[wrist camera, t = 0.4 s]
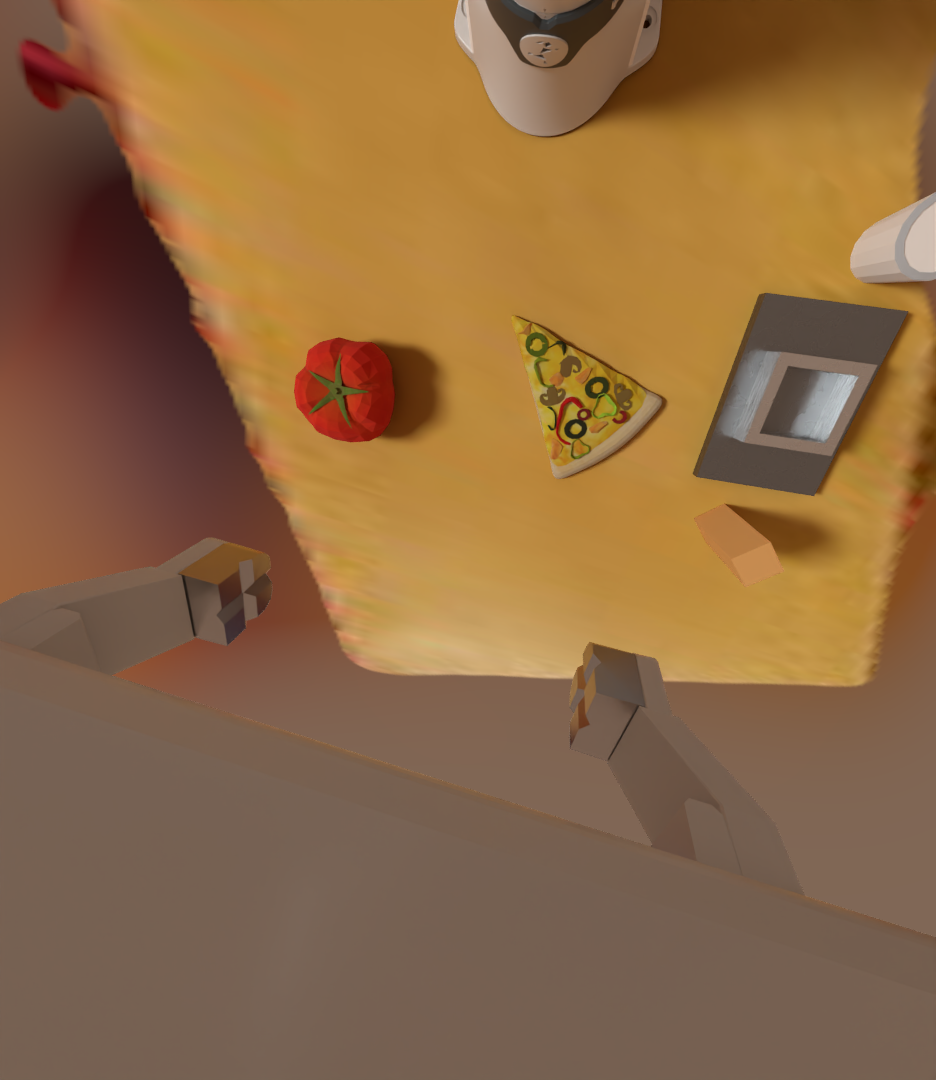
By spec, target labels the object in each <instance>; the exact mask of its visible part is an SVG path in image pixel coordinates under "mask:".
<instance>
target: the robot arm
mask: <svg viewBox="0 0 936 1080" xmlns="http://www.w3.org/2000/svg"><path fill="white" fill-rule="evenodd" d="M661 10H662V0H459V2H458V6H457V11H456V15H455V22H454V27H455V35H456V39H457V41H458V43H459V45H460V46H461V48H462V49H463V50H464V52H465V53H466V54H467V55H468V56H469V57H470V58H471V59H472V60H473V62H474V63H475V64H476V66H477V68H478V70H479V72H480V75H481V78H482V81H483V84H484V86H485V89H486V91H487V94H488V96H489V98H490V100H491V102H492V103H493V105H494V107H495V108H496V110H497V111H498V112H499V113H500V115H501V116H502V117H503V118H504V119H505V120H506V121H507V122H508V123H510V124H511V125H512V126H514V127H515V128H517V129H518V130H520V131H523V132H525V133H528V134H531V135H536V136H554V135H559V134H562V133H566V132H568V131H570V130H573V129H574V128H576V127H578V126H580V125H581V124H583V123H584V122H586V121H587V120H588V119H589V118H591V117H592V116H593V115H594V114H595V113H596V112H597V111H598V110H599V109H600V108H601V107H602V106H603V105H604V103H605V102H606V101H607V99H608V98H609V97H610V95H611V94H612V93H613V91H614V90H615V89H616V87H617V86H618V85H619V83H620V82H621V81H622V80H623V79H624V78H625V77H627V76H628V75H630V74H631V73H633V72H634V71H636V70H637V69H639V68H640V67H642V66H643V65H644V64H645V63H647V62H648V61H649V60H650V59H651V57H652V56H653V55H654V53H655V51H656V48H657V44H658V40H659V33H660V22H661ZM645 20H647V21H649V23H650V26H649V27H648V28H643V25H644V22H645ZM270 568H271V566H270V557H269V556H268V555H267V554H266V553H263V552H260V551H257V550H253V549H250V548H247V547H243V546H240V545H236V544H233V543H228V542H226V541H222V540H219V539H215V538H205V539H204V540H202V541H200V542H199V543H197V544H196V545H194V546H192V547H191V548H189V549H187V550H185V551H184V552H182V553H180V554H179V555H177V556H175V557H174V558H172V559H170V560H169V561H167V562H165V563H164V564H162V565H160V566H159V567H157V568H154V567H145V568H141V569H136V570H131V571H126V572H122V573H117V574H112V575H107V576H103V577H98V578H93V579H89V580H84V581H79V582H74V583H69V584H64V585H59V586H55V587H50V588H45V589H40V590H36V591H31V592H26V593H21V594H19V595H18V596H15V597H13V598H11V599H9V600H8V601H6V602H3V603H2V604H0V1080H936V937H933V936H930V935H927V934H924V933H921V932H917V931H915V930H911V929H908V928H905V927H902V926H899V925H896V924H892V923H889V922H886V921H883V920H880V919H876V918H873V917H870V916H867V915H864V914H861V913H858V912H855V911H851V910H848V909H845V908H842V907H839V906H836V905H833V904H829V903H826V902H823V901H820V900H817V899H814V898H810V897H807V896H805V894H804V892H803V889H802V887H801V885H800V882H799V880H798V878H797V875H796V872H795V870H794V868H793V865H792V862H791V860H790V858H789V855H788V853H787V850H786V848H785V846H784V843H783V840H782V838H781V836H780V833H779V831H778V828H777V826H776V824H775V822H774V821H773V820H772V819H771V818H770V816H769V815H768V814H767V813H766V812H765V811H764V810H763V809H762V808H761V807H760V805H758V803H757V802H756V801H755V800H754V799H753V798H752V797H751V796H750V794H749V793H748V792H747V791H746V790H745V789H744V788H743V787H742V786H741V785H740V784H739V782H738V781H737V780H736V779H735V778H734V777H733V776H732V775H731V774H730V773H729V772H728V770H727V769H726V768H725V767H724V766H723V765H722V764H721V763H720V762H719V761H718V759H717V758H716V757H715V756H714V755H713V754H712V753H711V752H710V751H709V750H708V748H707V747H706V746H705V745H704V744H703V743H702V742H701V741H700V740H699V739H698V738H697V737H696V735H695V734H694V733H693V732H692V731H691V730H690V729H689V728H688V727H687V725H686V724H685V723H684V722H683V721H682V720H681V719H680V718H679V717H676V716H673V715H672V712H671V709H670V705H669V701H668V697H667V694H666V690H665V686H664V682H663V679H662V675H661V671H660V668H659V664H658V661H657V660H656V659H655V658H651V657H647V656H643V655H639V654H635V653H629V652H625V651H621V650H618V649H614V648H610V647H607V646H603V645H599V644H595V643H592V642H589V643H588V645H587V646H586V648H585V651H584V653H583V665H582V666H580V667H578V668H577V670H576V673H575V675H574V678H573V682H572V686H571V691H570V709H571V710H572V712H573V713H574V715H573V717H572V719H571V721H570V749H572V750H575V751H578V752H581V753H584V754H587V755H590V756H593V757H596V758H599V759H602V760H605V761H608V765H609V767H610V769H611V770H612V772H613V774H614V776H615V778H616V780H617V781H618V783H619V785H620V787H621V789H622V790H623V792H624V794H625V796H626V797H627V800H628V801H629V803H630V805H631V807H632V809H633V810H634V812H635V814H636V816H637V818H638V819H639V821H640V823H641V825H642V827H643V829H644V830H645V832H646V834H647V836H648V837H649V839H650V841H651V843H652V845H651V847H650V846H647V845H643V844H641V843H637V842H634V841H631V840H628V839H624V838H622V837H618V836H615V835H612V834H609V833H606V832H603V831H600V830H597V829H593V828H590V827H587V826H584V825H581V824H578V823H575V822H571V821H568V820H565V819H562V818H559V817H556V816H552V815H549V814H546V813H543V812H540V811H537V810H534V809H531V808H527V807H524V806H521V805H518V804H514V803H512V802H509V801H505V800H502V799H499V798H496V797H493V796H490V795H486V794H483V793H480V792H477V791H474V790H471V789H468V788H464V787H461V786H458V785H455V784H452V783H449V782H446V781H442V780H439V779H436V778H433V777H430V776H426V775H423V774H420V773H417V772H414V771H411V770H408V769H404V768H401V767H398V766H395V765H392V764H389V763H386V762H382V761H379V760H376V759H373V758H370V757H367V756H364V755H360V754H357V753H354V752H351V751H348V750H345V749H342V748H338V747H335V746H332V745H329V744H326V743H323V742H320V741H316V740H313V739H310V738H307V737H304V736H301V735H298V734H294V733H291V732H288V731H285V730H282V729H278V728H275V727H272V726H269V725H266V724H263V723H260V722H256V721H254V720H250V719H247V718H244V717H241V716H238V715H235V714H231V713H228V712H225V711H222V710H219V709H216V708H212V707H209V706H206V705H203V704H200V703H197V702H194V701H191V700H187V699H184V698H181V697H178V696H175V695H172V694H168V693H165V692H162V691H159V690H156V689H153V688H149V687H146V686H143V685H140V684H137V683H133V682H131V681H127V680H124V679H121V678H118V677H115V676H112V675H113V674H116V673H118V672H120V671H123V670H124V669H127V668H129V667H132V666H134V665H136V664H138V663H140V662H143V661H145V660H147V659H150V658H152V657H154V656H157V655H159V654H161V653H163V652H166V651H168V650H170V649H173V648H175V647H177V646H179V645H182V644H184V643H186V642H188V641H191V640H193V639H194V637H196V638H199V639H203V640H207V641H211V642H215V643H218V644H222V645H226V646H228V645H229V644H230V643H231V642H232V641H233V640H234V639H235V638H236V637H237V636H238V635H239V634H240V633H241V632H242V631H243V630H244V629H246V621H247V620H250V619H253V618H255V617H258V616H259V615H260V614H261V613H262V612H263V611H264V610H265V608H266V607H267V605H268V603H269V601H270V599H271V594H272V582H271V580H270V579H269V577H268V576H267V575H266V573H267V571H268V570H269V569H270Z"/></svg>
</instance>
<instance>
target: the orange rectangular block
mask: <svg viewBox="0 0 936 1080" xmlns="http://www.w3.org/2000/svg"><path fill="white" fill-rule="evenodd" d="M694 520H695V522H696V524H697V526H698V528H699V530H700V532H701V534H702V535H703V537H704V539H705V541H706V543H707V544H708V545H709V546H710V547H711V548H712V550H713V551H714V552H715V553H716V554H717V555H718V556H719V558H720V559H721V560H722V561H723V562H724V563H725V564H726V566H727V567H728V568H729V569H730V570H731V571H732V572H733V574H734V575H735V576H736V577H737V578H738V579H739V580H740V582H741V583H742V584H743V585H744V586H745V587H747V586H750V585H752V584H754V583H757V582H759V581H762V580H764V579H767V578H769V577H771V576H774V575H776V574H779V573H781V572H784V570H783V567H782V565H781V563H780V561H779V559H778V557H777V555H776V553H775V550H774V548H773V546H772V544H771V542H770V541H769V540H768V539H766V538H765V537H764V536H763V535H761V534H760V533H759V532H758V531H757V530H755V529H754V528H753V527H752V526H751V525H749V524H748V523H747V522H746V521H745V520H743V519H742V518H741V517H740V516H739V515H737V514H736V513H735V512H734V511H733V510H731V509H730V508H729V507H728V506H727V505H725V504H723V505H720V506H718V507H716V508H714V509H712V510H710V511H708V512H706V513H704V514H702V515H700V516H698V517H696V518H694Z"/></svg>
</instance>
